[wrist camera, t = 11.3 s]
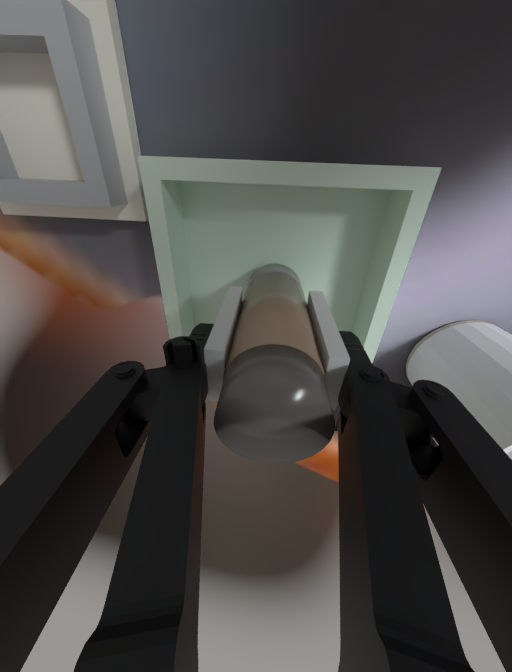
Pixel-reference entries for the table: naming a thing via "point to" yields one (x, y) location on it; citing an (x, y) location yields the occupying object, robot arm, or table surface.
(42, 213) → the panel
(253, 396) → the fuse
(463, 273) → the table surface
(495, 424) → the mug
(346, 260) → the parts tray
